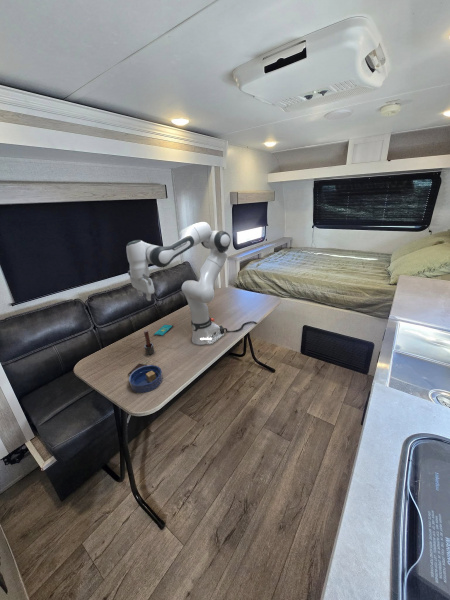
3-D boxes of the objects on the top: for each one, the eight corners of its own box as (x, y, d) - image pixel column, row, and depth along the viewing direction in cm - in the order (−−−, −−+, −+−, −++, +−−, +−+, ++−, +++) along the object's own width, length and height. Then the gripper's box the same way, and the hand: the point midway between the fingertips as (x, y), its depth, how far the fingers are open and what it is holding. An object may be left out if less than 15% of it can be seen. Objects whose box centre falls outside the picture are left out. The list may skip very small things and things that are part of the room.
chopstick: (151, 351, 146) (146, 330, 141) (152, 353, 145) (148, 331, 139) (148, 353, 145) (143, 331, 139) (149, 354, 144) (145, 332, 138)
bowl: (154, 368, 131) (152, 361, 129) (168, 382, 120) (167, 374, 118) (126, 383, 122) (123, 375, 120) (138, 399, 111) (136, 390, 109)
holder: (152, 350, 148) (150, 342, 146) (156, 353, 145) (154, 345, 143) (144, 353, 145) (142, 345, 143) (148, 357, 142) (146, 348, 140)
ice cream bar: (144, 360, 139) (127, 377, 126) (144, 358, 138) (126, 374, 125) (152, 361, 137) (135, 379, 124) (151, 359, 137) (135, 376, 124)
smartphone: (173, 325, 177) (162, 335, 163) (173, 326, 177) (162, 336, 164) (164, 324, 179) (153, 334, 165) (164, 325, 179) (153, 335, 166)
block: (153, 375, 125) (151, 370, 123) (156, 379, 122) (155, 373, 121) (146, 379, 122) (145, 373, 121) (149, 382, 120) (148, 376, 119)
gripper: (155, 275, 117) (159, 301, 122) (137, 268, 131) (142, 292, 136) (143, 278, 113) (148, 305, 118) (126, 271, 127) (131, 295, 132)
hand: (144, 298), depth 127 cm, fingers open, 8 cm apart
